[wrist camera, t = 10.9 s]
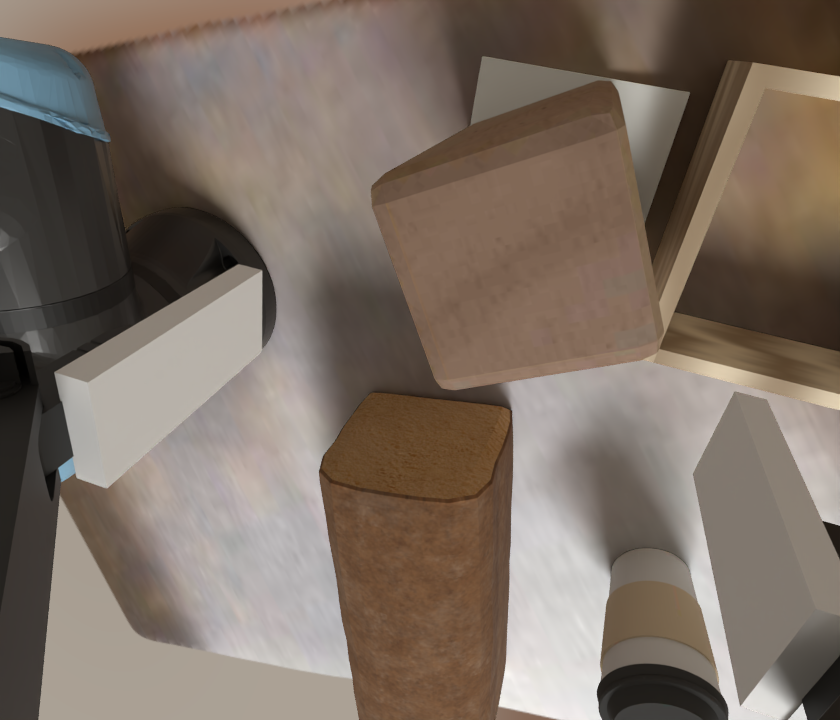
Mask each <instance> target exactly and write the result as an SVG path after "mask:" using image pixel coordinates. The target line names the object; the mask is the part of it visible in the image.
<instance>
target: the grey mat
mask: <svg viewBox="0 0 840 720" xmlns="http://www.w3.org/2000/svg"><path fill="white" fill-rule="evenodd" d="M597 80H602V81H611V82H612V83H613V84H614V86H615V87H616V89H617V90H618V92H619V96H620V101H621V105H622V110H623V114H624V119H625V123H626V128H627V134H628V139H629V144H630V150H631V155H632V161H633V166H634V171H635V177H636V182H637V187H638V193H639V198H640V204H641V209H642V214H643V220H644V224H645V221H646V218H647V215H648V212H649V209H650V207H651V204H652V201H653V198H654V195H655V192H656V189H657V187H658V184H659V181H660V178H661V175H662V172H663V169H664V167H665V164H666V161H667V158H668V155H669V152H670V149H671V146H672V144H673V141H674V138H675V135H676V132H677V129H678V126H679V124H680V121H681V118H682V115H683V112H684V109H685V106H686V104H687V101H688V98H689V95H690V92H686V91H680V90H674V89H668V88H663V87H657V86H651V85H646V84H640V83H634V82H628V81H623V80H617V79H611V78H606V77H600V76H594V75H589V74H583V73H577V72H571V71H566V70H560V69H554V68H549V67H543V66H537V65H531V64H526V63H520V62H514V61H509V60H503V59H497V58H491V57H486V56H482V60H481V66H480V72H479V77H478V83H477V89H476V94H475V100H474V106H473V111H472V117H471V123H470V126H471V125H473V124H475V123H477V122H480V121H483V120H486V119H489V118H492V117H495V116H497V115H500V114H503V113H506V112H509V111H512V110H515V109H517V108H520V107H523V106H526V105H529V104H532V103H535V102H537V101H540V100H543V99H546V98H549V97H552V96H555V95H557V94H560V93H563V92H566V91H569V90H572V89H575V88H577V87H580V86H583V85H586V84H589V83H592V82H595V81H597Z"/></svg>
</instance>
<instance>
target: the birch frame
mask: <svg viewBox="0 0 840 720" xmlns="http://www.w3.org/2000/svg"><path fill="white" fill-rule="evenodd" d="M765 88H766V89H772V90H778V91H784V92H790V93H796V94H802V95H808V96H813V97H819V98H825V99H831V100H837V101H840V77H839V76H833V75H827V74H821V73H815V72H809V71H802V70H796V69H790V68H784V67H778V66H772V65H766V64H760V63H754V62H744V61H733V60H728V61H727V64H726V67H725V69H724V72H723V75H722V77H721V80H720V83H719V86H718V88H717V91H716V94H715V96H714V99H713V102H712V105H711V107H710V110H709V113H708V115H707V118H706V121H705V123H704V126H703V129H702V132H701V134H700V137H699V140H698V142H697V145H696V148H695V150H694V153H693V156H692V159H691V161H690V164H689V167H688V169H687V172H686V175H685V177H684V180H683V183H682V186H681V188H680V191H679V194H678V196H677V199H676V202H675V205H674V207H673V210H672V213H671V215H670V218H669V221H668V223H667V226H666V229H665V232H664V234H663V237H662V240H661V242H660V245H659V248H658V250H657V253H656V256H655V259H654V261H653V264H652V268H653V273H654V279H655V284H656V289H657V295H658V300H659V306H660V311H661V316H662V322H663V327H664V335H663V339H662V342H661V346H660V349H659V351H658V352H657V353H656V354H654V355H652V356H650V357H648V358H645V359H643V360H646V361H650V362H653V363H657V364H661V365H665V366H669V367H673V368H677V369H681V370H685V371H689V372H693V373H696V374H700V375H704V376H708V377H712V378H716V379H720V380H724V381H728V382H732V383H736V384H739V385H743V386H747V387H751V388H755V389H759V390H763V391H767V392H771V393H775V394H779V395H782V396H786V397H790V398H794V399H798V400H802V401H806V402H810V403H814V404H818V405H822V406H825V407H829V408H833V409H837V410H840V352H839V351H835V350H831V349H826V348H822V347H818V346H814V345H810V344H806V343H801V342H797V341H793V340H789V339H785V338H781V337H776V336H772V335H768V334H764V333H760V332H755V331H751V330H747V329H743V328H739V327H735V326H730V325H726V324H722V323H718V322H714V321H710V320H705V319H701V318H697V317H693V316H689V315H685V314H680V313H676V312H674V311H675V308H676V306H677V303H678V301H679V298H680V296H681V294H682V291H683V289H684V286H685V284H686V281H687V279H688V276H689V274H690V272H691V269H692V267H693V264H694V262H695V259H696V257H697V254H698V252H699V250H700V247H701V245H702V242H703V240H704V237H705V235H706V232H707V230H708V227H709V225H710V223H711V220H712V218H713V215H714V213H715V210H716V208H717V205H718V203H719V201H720V198H721V196H722V193H723V191H724V188H725V186H726V183H727V181H728V179H729V176H730V174H731V171H732V169H733V166H734V164H735V161H736V159H737V157H738V154H739V152H740V149H741V147H742V144H743V142H744V139H745V137H746V134H747V132H748V130H749V127H750V125H751V122H752V120H753V117H754V115H755V112H756V110H757V108H758V105H759V103H760V100H761V98H762V95H763V93H764V90H765Z"/></svg>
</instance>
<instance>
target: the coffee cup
mask: <svg viewBox="0 0 840 720" xmlns="http://www.w3.org/2000/svg"><path fill="white" fill-rule="evenodd" d="M600 667H601V672H602V676H601V682H600V683H599V686H598V689H597V698H598V702H599V713H600V716H601V718H602V720H728V707H727V704H726V701H725V700H724V698H723V696H722V695H721V692H720V688H719V677H718V672H717V668H716V665H715V661H714V657H713V653H712V649H711V645H710V641H709V638H708V634H707V630H706V626H705V622H704V618H703V614H702V611H701V608H700V606H699V604H698V602H697V598H696V594H695V590H694V586H693V582H692V578H691V574H690V571H689V569H688V567H687V565H686V564H685V563H684V562H683V561H682V560H681V559H680V558H678V557H677V556H675V555H673V554H671V553H669V552H667V551H664V550H660V549H654V548H640V549H634V550H631V551H628V552H626V553H624V554H622V555H621V556H619V557H618V558H617V559H616V560H615V562H614V563H613V566H612V570H611V581H610V591H609V598H608V600H607V604H606V612H605V622H604V632H603V642H602V651H601V661H600Z"/></svg>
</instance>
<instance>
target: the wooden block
mask: <svg viewBox="0 0 840 720" xmlns="http://www.w3.org/2000/svg"><path fill="white" fill-rule="evenodd" d="M371 198H372V208H373V210H374V213H375V216H376V219H377V222H378V224H379V227H380V230H381V233H382V235H383V238H384V241H385V244H386V246H387V249H388V252H389V255H390V257H391V260H392V263H393V266H394V268H395V271H396V274H397V277H398V279H399V282H400V285H401V288H402V290H403V293H404V296H405V299H406V301H407V304H408V307H409V310H410V313H411V315H412V318H413V321H414V324H415V326H416V329H417V332H418V335H419V337H420V340H421V343H422V346H423V348H424V351H425V354H426V357H427V359H428V362H429V365H430V368H431V370H432V373H433V376H434V379H435V380H436V382H437V383H438V384H439V385H440V387H441V388H442V389H449V390H460V389H466V388H472V387H478V386H485V385H491V384H497V383H503V382H509V381H516V380H522V379H528V378H534V377H540V376H547V375H553V374H559V373H565V372H571V371H578V370H584V369H590V368H596V367H603V366H609V365H615V364H621V363H627V362H634V361H640V360H643V359H645V358H648V357H650V356H652V355H654V354H656V353H657V352H658V351H659V349H660V346H661V342H662V339H663V335H664V327H663V322H662V316H661V311H660V306H659V300H658V295H657V289H656V284H655V279H654V273H653V268H652V263H651V257H650V252H649V246H648V241H647V236H646V230H645V225H644V220H643V214H642V209H641V204H640V198H639V193H638V187H637V182H636V177H635V171H634V166H633V161H632V155H631V150H630V144H629V139H628V134H627V128H626V123H625V119H624V114H623V110H622V105H621V101H620V96H619V92H618V90H617V89H616V87H615V86H614V84H613V83H612V82H611V81H602V80H597V81H595V82H592V83H589V84H586V85H583V86H580V87H577V88H575V89H572V90H569V91H566V92H563V93H560V94H557V95H555V96H552V97H549V98H546V99H543V100H540V101H537V102H535V103H532V104H529V105H526V106H523V107H520V108H517V109H515V110H512V111H509V112H506V113H503V114H500V115H497V116H495V117H492V118H489V119H486V120H483V121H480V122H477V123H475V124H473V125H471V126H469V127H467V128H465V129H464V130H462V131H460V132H458V133H457V134H455V135H453V136H451V137H449V138H448V139H446V140H444V141H442V142H440V143H439V144H437V145H435V146H433V147H431V148H430V149H428V150H426V151H424V152H422V153H421V154H419V155H417V156H415V157H413V158H412V159H410V160H408V161H406V162H405V163H403V164H401V165H399V166H397V167H396V168H394V169H392V170H390V171H388V172H387V173H385V174H384V175H383V176H382V177H381V178H380V179H379V180H378V181H377V182H375V183H374V184H373V185H372V189H371Z"/></svg>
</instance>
